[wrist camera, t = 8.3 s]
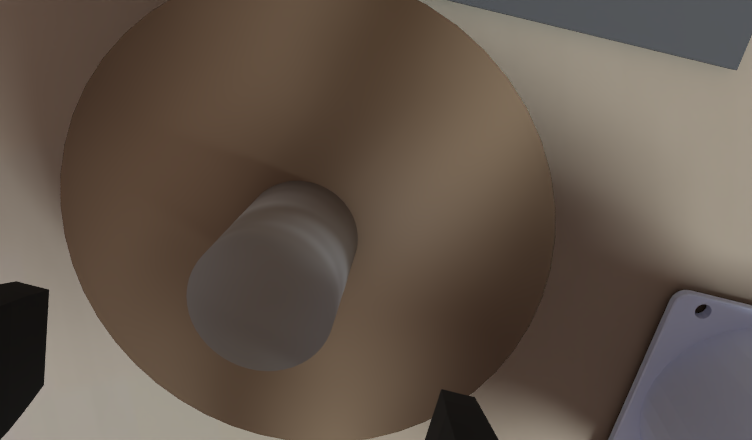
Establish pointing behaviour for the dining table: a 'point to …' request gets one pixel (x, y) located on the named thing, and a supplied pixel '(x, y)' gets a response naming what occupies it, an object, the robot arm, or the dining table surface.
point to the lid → (307, 211)
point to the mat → (647, 23)
